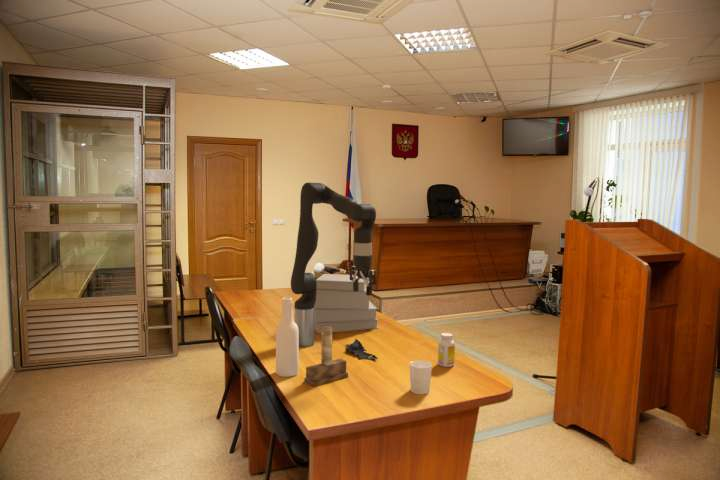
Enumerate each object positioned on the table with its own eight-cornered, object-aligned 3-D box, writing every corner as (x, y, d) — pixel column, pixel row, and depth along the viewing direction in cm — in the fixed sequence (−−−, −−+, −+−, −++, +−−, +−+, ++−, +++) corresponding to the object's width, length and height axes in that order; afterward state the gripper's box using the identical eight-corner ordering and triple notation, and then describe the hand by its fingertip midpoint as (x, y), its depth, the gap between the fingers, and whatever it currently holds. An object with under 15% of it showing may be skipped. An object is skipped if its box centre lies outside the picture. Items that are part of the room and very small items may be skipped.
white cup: (407, 386, 183) (407, 360, 182) (428, 386, 183) (429, 360, 182) (411, 395, 175) (411, 368, 174) (433, 395, 176) (434, 367, 175)
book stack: (303, 321, 272) (303, 274, 269) (363, 316, 284) (364, 271, 281) (317, 336, 244) (317, 284, 241) (383, 330, 256) (384, 281, 253)
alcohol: (273, 371, 197) (272, 296, 194) (294, 368, 200) (294, 295, 197) (279, 379, 189) (278, 301, 186) (301, 375, 192) (301, 299, 189)
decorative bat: (337, 334, 234) (357, 334, 237) (336, 343, 234) (356, 342, 237) (357, 354, 206) (379, 354, 209) (356, 364, 206) (378, 363, 209)
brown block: (312, 386, 182) (312, 370, 181) (304, 381, 187) (304, 366, 186) (348, 377, 192) (348, 361, 191) (339, 372, 196) (339, 357, 196)
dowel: (319, 363, 189) (319, 327, 187) (328, 361, 191) (328, 325, 190) (325, 366, 186) (325, 330, 184) (334, 364, 188) (334, 328, 187)
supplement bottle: (455, 363, 209) (456, 333, 207) (452, 368, 202) (453, 337, 201) (439, 361, 211) (440, 331, 209) (436, 366, 204) (437, 335, 203)
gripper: (344, 252, 203) (344, 291, 205) (366, 256, 192) (366, 297, 193) (359, 251, 208) (358, 289, 209) (381, 255, 196) (380, 295, 198)
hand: (362, 293), depth 201 cm, fingers open, 8 cm apart
